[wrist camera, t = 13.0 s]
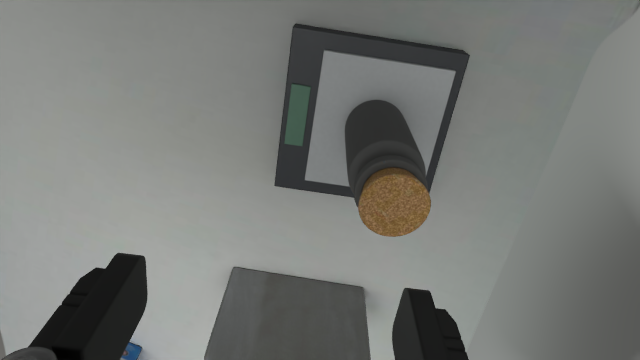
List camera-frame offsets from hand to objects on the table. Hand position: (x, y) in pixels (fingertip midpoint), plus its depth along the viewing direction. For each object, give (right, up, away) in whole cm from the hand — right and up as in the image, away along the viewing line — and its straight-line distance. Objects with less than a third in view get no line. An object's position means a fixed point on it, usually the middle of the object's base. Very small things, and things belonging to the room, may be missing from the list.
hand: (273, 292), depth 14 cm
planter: (-2, -12, +42) cm, 44 cm away
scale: (+6, +10, +31) cm, 33 cm away
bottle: (+7, +9, +29) cm, 31 cm away
